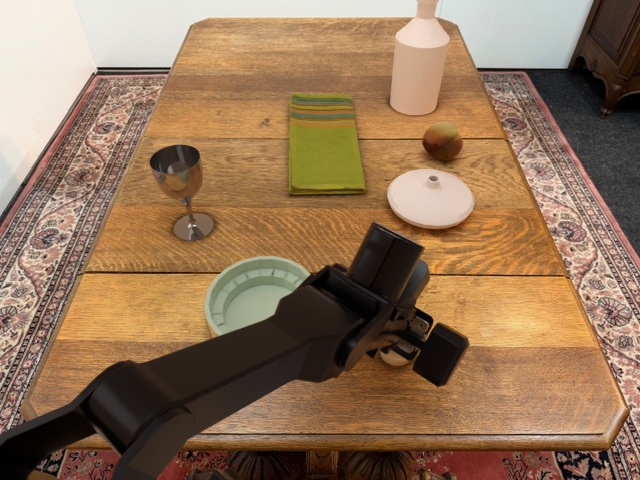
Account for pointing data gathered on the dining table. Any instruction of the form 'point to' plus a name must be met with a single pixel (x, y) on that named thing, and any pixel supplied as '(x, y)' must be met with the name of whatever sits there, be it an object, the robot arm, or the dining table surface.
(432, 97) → the bottle
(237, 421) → the dining table surface
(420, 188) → the flat round vase
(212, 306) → the bowl
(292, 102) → the dish towel
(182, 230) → the wine glass
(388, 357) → the beige piece
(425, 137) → the fruit
